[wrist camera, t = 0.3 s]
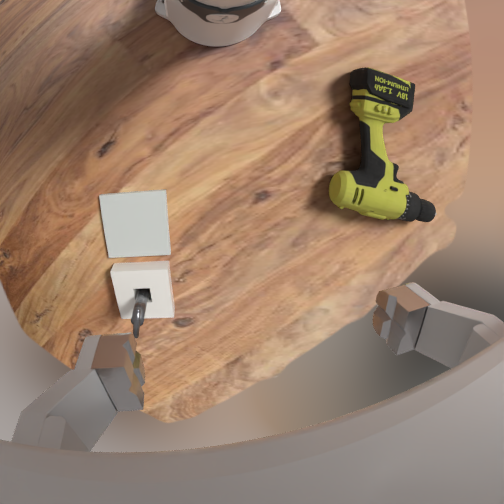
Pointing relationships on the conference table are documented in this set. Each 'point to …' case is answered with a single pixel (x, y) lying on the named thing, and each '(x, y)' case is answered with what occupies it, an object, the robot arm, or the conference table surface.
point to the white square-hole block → (144, 276)
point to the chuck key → (139, 310)
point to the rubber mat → (136, 223)
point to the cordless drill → (378, 152)
